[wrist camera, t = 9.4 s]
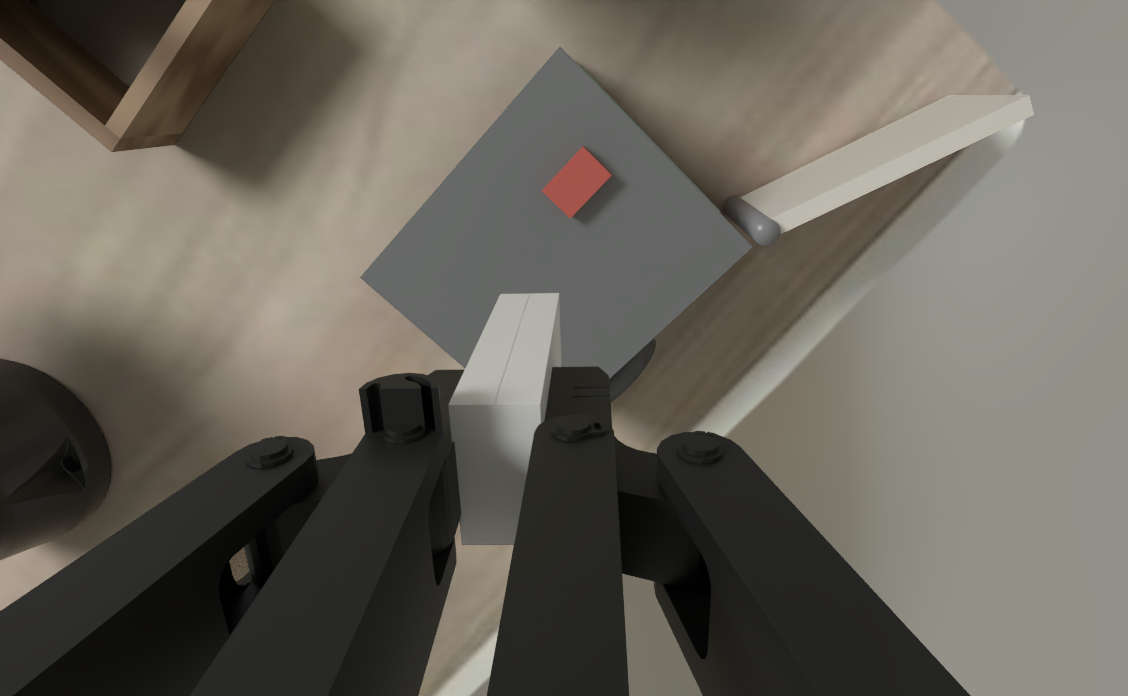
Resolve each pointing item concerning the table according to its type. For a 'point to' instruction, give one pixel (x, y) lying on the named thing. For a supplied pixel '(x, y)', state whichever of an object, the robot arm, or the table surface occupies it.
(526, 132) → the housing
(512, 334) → the robot arm
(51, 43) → the camera caddy
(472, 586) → the table surface
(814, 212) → the door
